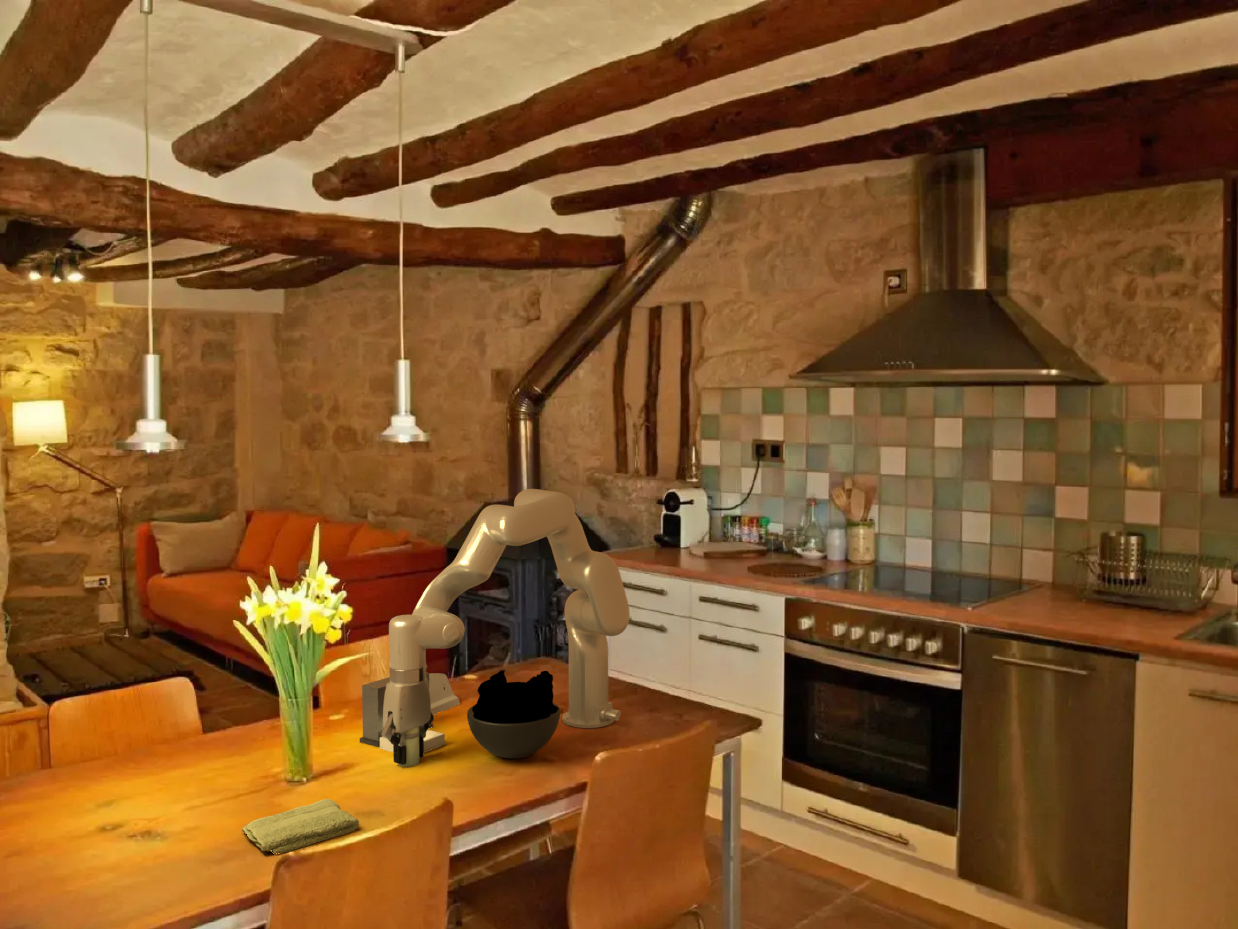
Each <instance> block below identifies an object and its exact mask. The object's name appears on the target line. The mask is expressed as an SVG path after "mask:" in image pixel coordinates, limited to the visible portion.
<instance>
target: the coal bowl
mask: <svg viewBox="0 0 1238 929" xmlns="http://www.w3.org/2000/svg"><path fill="white" fill-rule="evenodd" d="M505 672H506V669H501V670H499V671H498V672H497V673H494V674H493V675H491V676H490V677H489V679H487V680H483V682H481V683H480V685H479V686H478V688H477V690H476V691H477V693H478V695H479V696H478V698H477V701H476V703H475V704H474V705H472V706H470V707H469V708H468V710H467V712H466V718H467V722H468V727H469V730H470V731H471V733H472V735H473V737H474V739H475V741H476V742H477V743H478V744H479V745H480V746H481V747H482V748H483V749H484V750H486V751H487V752H489V753H491V754H492V755H495V756H497V757H501V758H503V759H505V758H506V759H520V758H525V757H529V756H531V755H533V754H535V753H537V752H538V751H540V750H541V749H542V748H544V747H545V746H546V745H547V744H548V743H549V741H550V740H551V739H552V738H553V736H554V735H555V732H556V730H557V728H558V725H559V724H560V723H559V721H560V718H561V709H560V706H559V705H558V704H556V703H555V702H554V692H553V690H554V685H553V682H554V675H553V674H551V673H549V672H550V671H548V670H543V671H541V672H540V674H539V673H538V674H536V676H532V677H531V678H530V679H529V680H528V681H508V680H507V678H506V675H505Z"/></svg>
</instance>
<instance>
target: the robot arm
mask: <svg viewBox="0 0 1238 929" xmlns="http://www.w3.org/2000/svg"><path fill="white" fill-rule="evenodd" d="M543 538H547V539H548V543H549V545H550V547H551V551H552V555H553V559H554V562H555V565H556V568H557V573H558V575H559V578H560V580H561V582H562V583H563V584H564V585H565V586H566V587H569V588H571V589H574V590H575V591H573V592H572V593H571V594H570V595H569V596H568V598H567V599H566V601H565V603H564V604H565V605H564V610H563V611H564V619H565V626H566V630H567V639H568V640H567V641H568V642H567V643H568V711H566V712H564V713H563V714H562V717H561V719H562V720H561V721H562V722H563V724H565V725H566V726H568V727H569V726H570V727H573V728H580V729H597V728H602V727H606V726H609V725H612V724H613V723H614V722H615V721H617V722H618V721H619V720H620V718H621V714H622V712H621V710H620V709H614V708H613V702H612V701H611V702H610V701H609V644H608V639H607V637H615V636H618V635H620V634H622V633H623V632H625V630H626V629H627V628H628V625H629V622H630V617H631V616H630V606H629V601H628V598H627V596H626V591H625V588H624V583H623V578H622V577H621V572H620V570H619V568H618V565H617V564H616V562H615V561H614V559H613V558H612V557H611V556H610V555H609V554H607V553H604V552H600V551H596V550H595V551H594V550H593V549H591V547H590V545H589V543H588V539H587V537H586V534H585V531H584V528H583V525H582V522H581V521H580V519H579V517H578V516H577V515H576V506H575V503H574V501H573V499H572V498H571V497H570V496H569V495H567V494H566V493H563V492H559V491H552V490H545V489H540V488H539V489H537V488H527V489H524V490H522V491H519V492H518V493H517V495H516V496H515V498H514V502H513V506H511V505H506V504H505V505H504V504H490V505H488V506H486V507H485V508H483V509H482V510H481V512H480V513H479V515H478V517H477V518H476V520H475V521H474V523H473V525H472V528H471V529H470V531H469V533H468V534H467V536H466V538H465V540H464V542H463V543H462V546H461V548H460V549H459V551H458V552H457V553H456V554H457V555H456V557H455V558H454V560H453V561H452V562H451V563H450V564H449V565H448V566H446V567H445V568H444V569H443V570H442V571H441V572H440V573H439V574H438V575H437V576H436V577H435V578H434V579H432V581H431V582H430V583H429V584H428V585H427V586H426V588H425V589H424V591H423V592H422V593H421V594H422V595H421V596H420V598H419V600H418V601H417V603H416V605H415V608H414V609H413V611H412V613H411V614H401V615H396V616H394V617H392V618H391V619H390V621H389V623H388V643H389V644H388V645H389V646H388V649H389V650H388V652H389V654H388V660H389V663H388V664H389V677H390V683H387V686H386V690H385V696H384V706H383V727H384V729H383V731H382V733H381V735H382V736H383V737H385V738H387V739H388V740H389V741H390V742H391V744H393V752H392V753H393V754H392V755H393V763H396V764H397V765H398V764H402V765H404V764H406V746H405V745H404V740H405V733H406V731H407V730H409V729H412V728H415V727H418V726H419V730H420V735H419V759H420V758H424V757H425V753H424V739H423V738H425V737H426V731H427V730H429V729H428V728H429V725H430V724H431V723H433V722H434V720H435V715H434V716H433V715H432V713H431V701H430V691H429V685H428V680H427V678H426V672H427V670H428V665H427V657H426V654H427V653H426V652H427V651H426V650H427V649H442V650H443V649H451V648H452V647H455V646H457V645H458V644H459V643H461V641H462V640H463V638H464V636H465V631H466V629H465V625H464V622H463V621H462V619H461V618H460V617H459V616H457V615H455V614H453V613H451V612H449V608H450V607H451V606H452V604H454V601H455V600H456V599H457V598H458V597H459V596H460V595H461V594H463V593H465V592H466V591H467V590H469V589H471V588H474V587H477V586H479V585H480V584H482V583H485V582H486V581H488V580H489V578H490V577H491V575H492V573H493V571H494V570H495V568H496V565H497V563H498V561H499V560H500V558H501V557H502V554H503V553H504V550H505V549H506V547H507V546H511V547H513V546H514V547H518V546H524V545H526V544H527V545H528V544H530V543H533V542H536V541H538V540H541V539H543ZM392 728H393V729H392ZM391 731H392V733H391ZM398 733H399V738H398V737H397V735H398Z"/></svg>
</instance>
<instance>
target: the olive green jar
mask: <svg viewBox="0 0 1238 929" xmlns="http://www.w3.org/2000/svg"><path fill="white" fill-rule="evenodd" d="M419 735H420V730H419V726H418V727H415V728H412V729H409V730H407V731H406V733H405V740H404V745H405V746H406V764H404V765H402V764H398V763H397V765H398V766H399V767H402V768H411V767H416V766H419V764H420V757H419ZM397 737H398V738H399V733H398V735H397Z"/></svg>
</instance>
